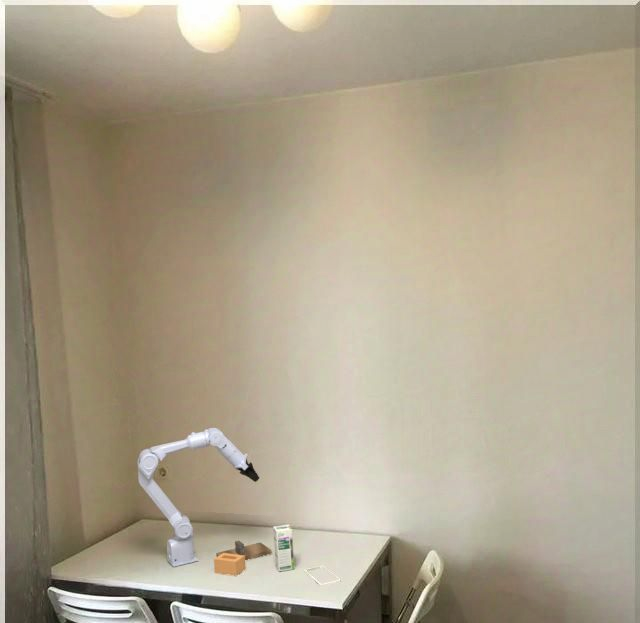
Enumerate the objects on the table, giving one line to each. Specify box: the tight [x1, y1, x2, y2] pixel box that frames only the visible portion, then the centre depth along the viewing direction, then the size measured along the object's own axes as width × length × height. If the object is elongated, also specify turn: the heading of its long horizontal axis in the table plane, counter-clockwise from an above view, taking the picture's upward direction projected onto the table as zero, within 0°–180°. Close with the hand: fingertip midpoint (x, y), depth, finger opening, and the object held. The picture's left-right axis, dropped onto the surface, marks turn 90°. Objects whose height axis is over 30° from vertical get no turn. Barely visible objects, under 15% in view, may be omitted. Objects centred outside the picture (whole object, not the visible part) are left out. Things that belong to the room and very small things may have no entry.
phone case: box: [303, 564, 341, 587], centre depth 234 cm, size 7×1×15 cm
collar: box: [213, 553, 246, 576], centre depth 243 cm, size 6×9×5 cm, turn 64°
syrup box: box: [272, 524, 295, 572], centre depth 243 cm, size 6×6×14 cm
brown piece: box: [215, 540, 273, 561], centre depth 257 cm, size 18×10×6 cm, turn 119°
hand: (255, 477), depth 263 cm, fingers open, 7 cm apart
